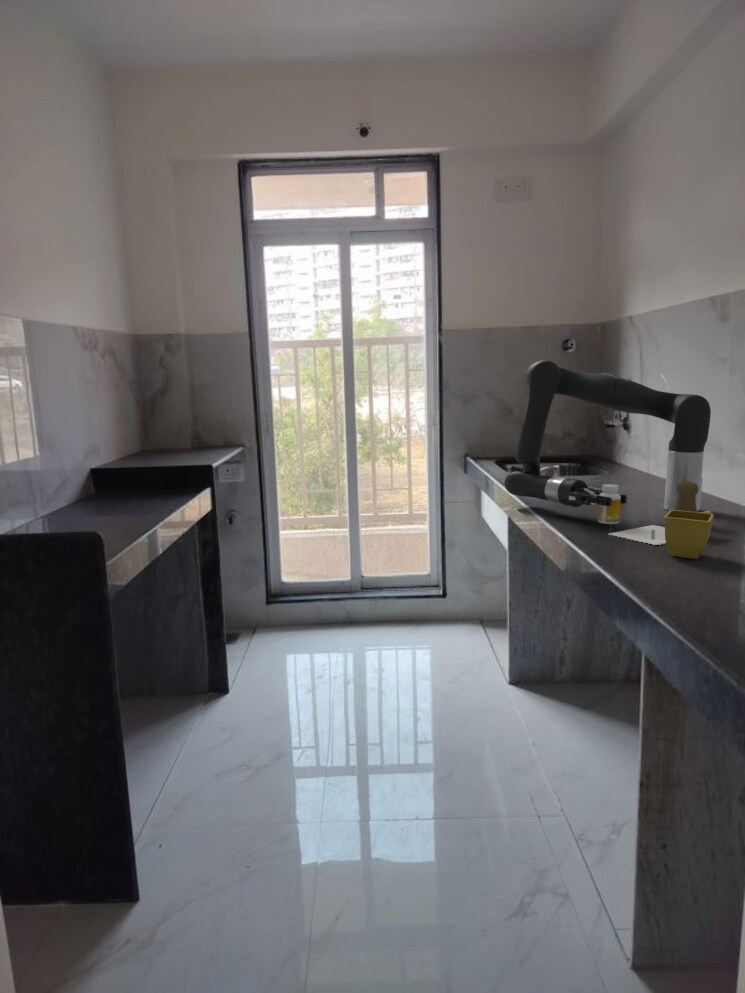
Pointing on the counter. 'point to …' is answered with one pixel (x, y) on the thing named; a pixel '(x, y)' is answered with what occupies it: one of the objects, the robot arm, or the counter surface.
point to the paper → (644, 534)
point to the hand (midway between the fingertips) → (618, 500)
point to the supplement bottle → (610, 512)
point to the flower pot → (687, 532)
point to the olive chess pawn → (686, 496)
